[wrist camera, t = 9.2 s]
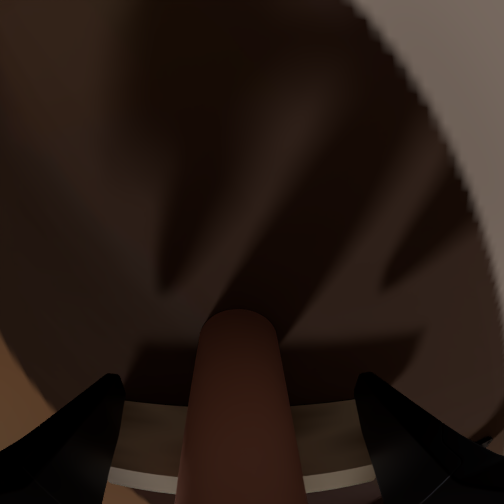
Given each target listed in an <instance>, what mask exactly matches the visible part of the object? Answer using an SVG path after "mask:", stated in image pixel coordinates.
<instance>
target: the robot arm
mask: <svg viewBox="0 0 504 504" xmlns="http://www.w3.org/2000/svg"><path fill="white" fill-rule="evenodd" d="M354 397H355V402H356V407H357V412H358V416H359V421H360V427H361V431H362V435H363V438H364V441H365V444H366V447H367V450H368V453H369V456H370V459H371V462H372V466H373V469H374V472H375V475H376V478H377V482H378V485H379V488H380V491H381V495H382V498H383V502H384V504H504V456H502V455H499V454H496V453H494V452H492V451H490V450H488V449H486V447H487V446H488V445H489V444H490V442H491V441H492V440H493V439H492V437H491V436H490V437H488V438H486V439H484V440H482V441H480V442H478V443H475V442H473V441H471V440H469V439H467V438H466V437H464V436H462V435H461V434H459V433H457V432H456V431H454V430H453V429H451V428H450V427H448V426H447V425H445V424H444V423H442V422H441V421H440V420H438V419H437V418H435V417H434V416H432V415H431V414H430V413H428V412H427V411H425V410H424V409H423V408H421V407H420V406H418V405H417V404H415V403H414V402H413V401H411V400H410V399H408V398H407V397H406V396H404V395H403V394H401V393H400V392H399V391H397V390H396V389H395V388H393V387H392V386H390V385H389V384H388V383H386V382H385V381H383V380H382V379H381V378H379V377H378V376H377V375H375V374H374V373H372V372H366V373H361V374H360V375H359V377H358V380H357V383H356V386H355V389H354ZM124 402H125V390H124V387H123V384H122V381H121V378H120V376H119V375H118V374H111V373H108V374H106V375H104V376H103V377H102V378H100V379H99V380H98V381H97V382H95V383H94V384H93V385H91V386H90V387H89V388H87V389H86V390H85V391H84V392H82V393H81V394H80V395H78V396H77V397H76V398H74V399H73V400H72V401H71V402H69V403H68V404H67V405H65V406H64V407H63V408H61V409H60V410H59V411H57V412H56V413H55V414H54V415H52V416H51V417H50V418H48V419H47V420H46V421H45V422H43V423H42V424H40V426H38V427H36V428H35V429H34V430H32V431H31V432H30V433H28V434H27V435H26V436H24V437H23V438H21V439H20V440H18V441H17V442H15V443H13V444H12V445H10V446H8V447H7V448H5V449H3V450H2V451H0V504H102V501H103V496H104V492H105V488H106V483H107V479H108V475H109V471H110V467H111V463H112V459H113V456H114V452H115V448H116V445H117V441H118V437H119V433H120V427H121V420H122V414H123V408H124Z"/></svg>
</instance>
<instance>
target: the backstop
mask: <svg viewBox="0 0 504 504" xmlns="http://www.w3.org/2000/svg"><path fill="white" fill-rule="evenodd" d="M290 408H291V414H292V419H293V424H294V430H295V435H296V441H297V446H298V452H299V457H300V463H301V468H302V474H303V479H304V485H305V491H306V493H311V492H318V491H325V490H331V489H336V488H342V487H347V486H352V485H357V484H361V483H365V482H370V481H373V480H374V479H375V477H376V475H375V472H374V469H373V466H372V462H371V459H370V456H369V453H368V450H367V447H366V444H365V441H364V438H363V435H362V431H361V427H360V421H359V416H358V412H357V407H356V402H355V399H353V400H346V401H339V402H330V403H321V404H311V405H299V406H290ZM187 409H188V407H185V406H171V405H159V404H149V403H140V402H132V401H125V402H124V408H123V414H122V420H121V427H120V433H119V437H118V441H117V445H116V448H115V452H114V456H113V459H112V463H111V467H110V471H109V475H108V479H107V480H108V481H109V482H110V483H113V484H117V485H122V486H126V487H132V488H137V489H143V490H149V491H155V492H162V493H170V494H176V489H177V481H178V473H179V465H180V458H181V451H182V443H183V436H184V429H185V422H186V416H187Z"/></svg>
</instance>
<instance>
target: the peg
mask: <svg viewBox="0 0 504 504" xmlns="http://www.w3.org/2000/svg"><path fill="white" fill-rule="evenodd" d="M175 504H308V502H307V496H306V491H305V485H304V479H303V474H302V468H301V463H300V457H299V452H298V446H297V441H296V435H295V430H294V424H293V419H292V414H291V408H290V403H289V397H288V392H287V387H286V381H285V376H284V371H283V365H282V360H281V355H280V350H279V344H278V339H277V334H276V331H275V328H274V327H273V325H272V324H271V322H270V321H269V320H268V319H266V318H265V317H264V316H262V315H260V314H259V313H256V312H254V311H250V310H245V309H231V310H226V311H222V312H220V313H218V314H216V315H214V316H212V317H211V318H210V319H209V320H208V321H207V322H206V323H205V324H204V326H203V327H202V329H201V332H200V337H199V342H198V348H197V354H196V360H195V366H194V372H193V378H192V384H191V390H190V396H189V403H188V409H187V416H186V422H185V429H184V436H183V443H182V451H181V458H180V465H179V473H178V481H177V489H176V498H175Z"/></svg>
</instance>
